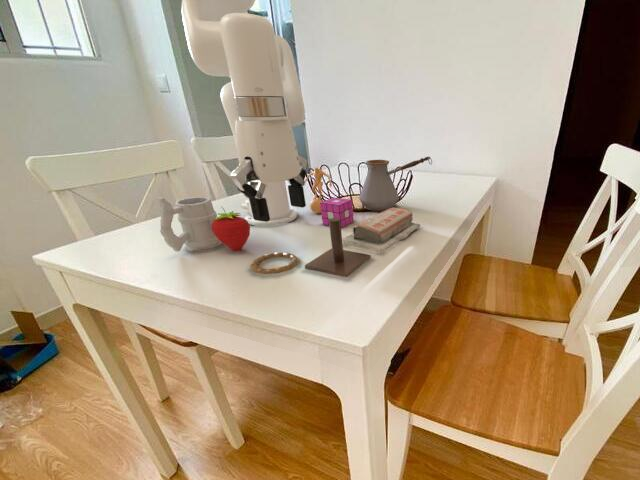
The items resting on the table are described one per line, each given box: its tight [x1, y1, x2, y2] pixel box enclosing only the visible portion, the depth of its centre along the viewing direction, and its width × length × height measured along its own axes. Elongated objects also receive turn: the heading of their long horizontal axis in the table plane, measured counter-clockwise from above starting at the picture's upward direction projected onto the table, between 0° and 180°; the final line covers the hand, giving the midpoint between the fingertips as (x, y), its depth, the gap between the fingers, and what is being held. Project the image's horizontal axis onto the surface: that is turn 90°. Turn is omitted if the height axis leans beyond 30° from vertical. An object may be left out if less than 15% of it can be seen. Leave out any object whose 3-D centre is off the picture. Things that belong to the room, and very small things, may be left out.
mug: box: [157, 196, 223, 253], centre depth 70 cm, size 8×12×12 cm, turn 158°
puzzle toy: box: [320, 196, 355, 229], centre depth 86 cm, size 6×6×6 cm
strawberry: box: [212, 205, 251, 252], centre depth 69 cm, size 6×8×10 cm
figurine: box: [304, 166, 333, 214], centre depth 93 cm, size 8×6×12 cm
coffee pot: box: [358, 156, 433, 212], centre depth 95 cm, size 21×12×15 cm, turn 69°
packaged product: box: [342, 207, 421, 253], centre depth 78 cm, size 18×5×10 cm
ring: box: [250, 251, 300, 275], centre depth 65 cm, size 8×8×1 cm
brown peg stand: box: [304, 218, 372, 278], centre depth 64 cm, size 9×9×9 cm
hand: (281, 213), depth 63 cm, fingers open, 9 cm apart
